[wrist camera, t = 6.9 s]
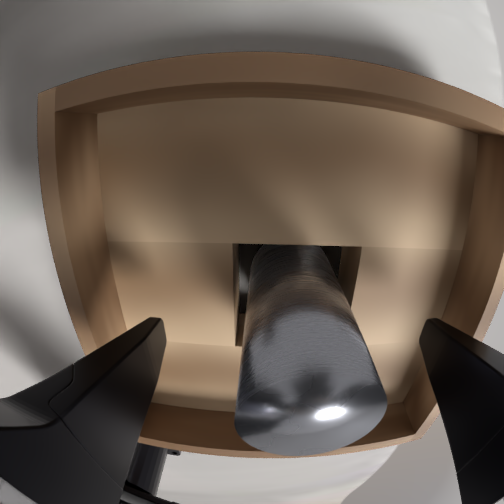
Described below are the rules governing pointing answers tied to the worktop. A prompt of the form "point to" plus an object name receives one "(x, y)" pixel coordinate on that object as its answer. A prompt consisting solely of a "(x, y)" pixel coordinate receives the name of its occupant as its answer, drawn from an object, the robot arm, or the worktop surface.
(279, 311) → the peg
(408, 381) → the tray
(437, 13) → the worktop surface
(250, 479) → the worktop surface
